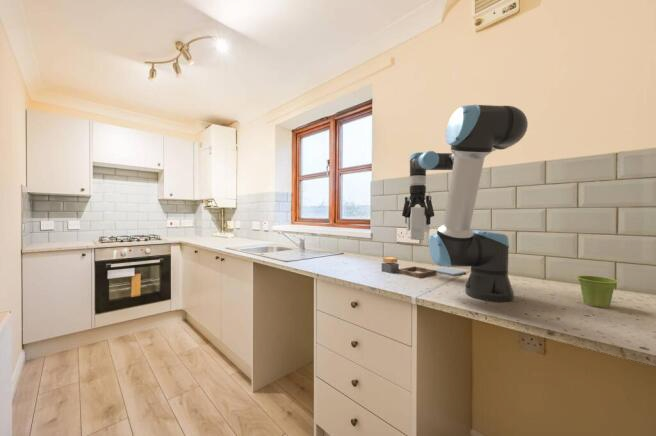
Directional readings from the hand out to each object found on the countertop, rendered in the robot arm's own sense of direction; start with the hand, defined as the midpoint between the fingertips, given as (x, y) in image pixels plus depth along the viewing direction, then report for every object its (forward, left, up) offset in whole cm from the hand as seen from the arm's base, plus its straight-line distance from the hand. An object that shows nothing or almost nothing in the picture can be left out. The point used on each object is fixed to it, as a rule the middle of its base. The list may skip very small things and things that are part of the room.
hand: (417, 231), depth 133 cm
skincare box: (0, 0, -4) cm, 4 cm away
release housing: (+11, +7, -21) cm, 25 cm away
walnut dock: (0, 0, -21) cm, 21 cm away
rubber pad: (-8, -15, -21) cm, 27 cm away
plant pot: (-62, -10, -21) cm, 66 cm away
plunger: (+11, +7, -20) cm, 24 cm away
